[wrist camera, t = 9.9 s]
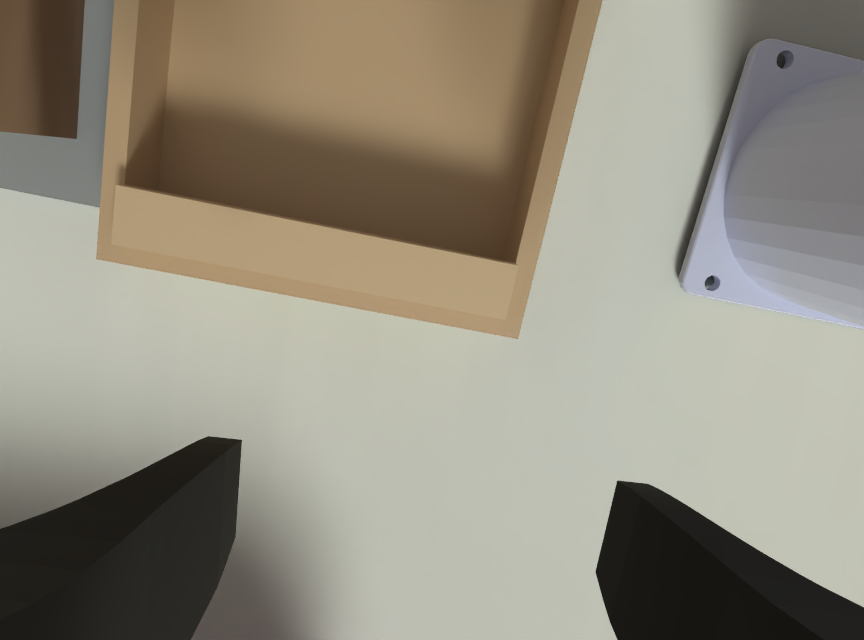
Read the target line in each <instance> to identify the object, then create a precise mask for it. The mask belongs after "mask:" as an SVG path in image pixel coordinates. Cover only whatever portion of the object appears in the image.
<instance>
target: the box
mask: <svg viewBox="0 0 864 640" xmlns="http://www.w3.org/2000/svg"><path fill="white" fill-rule="evenodd" d="M84 6H85V0H0V132H10V133H20V134H31V135H41V136H51V137H61V138H71V139H77V128H78V110H79V93H80V76H81V58H82V41H83V24H84Z"/></svg>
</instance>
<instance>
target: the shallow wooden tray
mask: <svg viewBox="0 0 864 640" xmlns="http://www.w3.org/2000/svg"><path fill="white" fill-rule="evenodd" d="M601 4H602V0H114V12H113V26H112V41H111V55H110V70H109V84H108V99H107V113H106V127H105V142H104V156H103V171H102V185H101V200H100V214H99V229H98V243H97V257H96V259H99V260H104V261H109V262H115V263H120V264H125V265H131V266H136V267H141V268H146V269H152V270H157V271H162V272H168V273H173V274H178V275H183V276H189V277H194V278H199V279H204V280H210V281H215V282H220V283H226V284H231V285H236V286H241V287H247V288H252V289H257V290H263V291H268V292H273V293H278V294H284V295H289V296H294V297H299V298H305V299H310V300H315V301H321V302H326V303H331V304H336V305H342V306H347V307H352V308H358V309H363V310H368V311H373V312H379V313H384V314H389V315H394V316H400V317H405V318H410V319H416V320H421V321H426V322H431V323H437V324H442V325H447V326H453V327H458V328H463V329H468V330H474V331H479V332H484V333H489V334H495V335H500V336H505V337H511V338H516V339H518V336H519V332H520V328H521V324H522V320H523V316H524V312H525V308H526V304H527V300H528V296H529V292H530V288H531V284H532V280H533V276H534V272H535V268H536V264H537V260H538V256H539V252H540V248H541V244H542V240H543V236H544V232H545V228H546V224H547V220H548V216H549V212H550V208H551V204H552V200H553V196H554V192H555V188H556V184H557V180H558V176H559V172H560V168H561V164H562V160H563V156H564V152H565V148H566V144H567V140H568V136H569V132H570V128H571V124H572V120H573V116H574V112H575V108H576V104H577V100H578V96H579V92H580V88H581V84H582V80H583V76H584V72H585V68H586V64H587V60H588V56H589V52H590V48H591V44H592V40H593V36H594V32H595V28H596V24H597V20H598V16H599V12H600V8H601Z"/></svg>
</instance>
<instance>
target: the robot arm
mask: <svg viewBox="0 0 864 640" xmlns="http://www.w3.org/2000/svg"><path fill="white" fill-rule="evenodd" d="M779 53H781V54H783V55H784V57H785V59H786V60H785V65H784V67H783V68H782V69H781V68H780V67H778V65H777V63H776V62H777V56H778V55H779ZM712 275H713V277H714V283H713V285H712V286H711V287H710V288H708V289H706V287H705V281H706V279H707V278H708V277H709V276H712ZM679 284H680V287H681V288H682V289H683V290H684V291H686V292H688V293H690V294H693V295H697V296H702V297H707V298H712V299H717V300H722V301H727V302H732V303H737V304H742V305H747V306H752V307H757V308H762V309H767V310H772V311H777V312H782V313H787V314H792V315H796V316H801V317H806V318H811V319H816V320H821V321H826V322H831V323H836V324H841V325H846V326H851V327H856V328H861V329H864V60H860V59H856V58H852V57H848V56H843V55H839V54H835V53H831V52H827V51H823V50H819V49H815V48H811V47H807V46H803V45H799V44H795V43H791V42H786V41H782V40H778V39H773V38H768V39H765V40H762V41H760V42H758V43H756V44H755V45H754V46H753V47H752V48H751V49H750V51H749V53H748V55H747V58H746V62H745V65H744V68H743V71H742V75H741V78H740V81H739V84H738V88H737V91H736V94H735V97H734V100H733V104H732V107H731V110H730V113H729V117H728V120H727V123H726V126H725V130H724V133H723V136H722V139H721V142H720V146H719V149H718V152H717V155H716V159H715V162H714V165H713V168H712V172H711V175H710V178H709V181H708V184H707V188H706V191H705V194H704V197H703V201H702V204H701V207H700V210H699V213H698V217H697V220H696V223H695V226H694V230H693V233H692V236H691V239H690V243H689V246H688V249H687V252H686V255H685V259H684V262H683V265H682V268H681V272H680V275H679ZM241 443H242V440H237V439H228V438H219V437H210V436H208V437H206V438H203V439H201V440H199V441H196V442H194V443H192V444H190V445H188V446H186V447H184V448H183V449H181V450H179V451H177V452H175V453H173V454H171V455H169V456H167V457H165V458H163V459H162V460H160V461H158V462H156V463H154V464H152V465H150V466H148V467H146V468H144V469H142V470H140V471H138V472H136V473H134V474H132V475H130V476H128V477H126V478H124V479H122V480H120V481H118V482H115V483H113V484H111V485H109V486H107V487H105V488H102V489H100V490H98V491H96V492H94V493H92V494H89V495H87V496H85V497H83V498H81V499H79V500H76V501H74V502H71V503H69V504H67V505H64V506H62V507H59V508H57V509H54V510H52V511H49V512H47V513H44V514H41V515H38V516H36V517H33V518H30V519H27V520H25V521H22V522H19V523H16V524H14V525H11V526H8V527H5V528H2V529H0V640H191V638H192V636H193V634H194V632H195V630H196V628H197V626H198V624H199V622H200V620H201V618H202V616H203V614H204V612H205V610H206V608H207V606H208V604H209V602H210V600H211V598H212V596H213V594H214V592H215V590H216V588H217V586H218V584H219V581H220V578H221V576H222V573H223V570H224V568H225V565H226V562H227V559H228V556H229V553H230V551H231V548H232V545H233V542H234V539H235V533H236V518H237V503H238V488H239V473H240V458H241ZM596 575H597V578H598V582H599V586H600V590H601V593H602V597H603V601H604V604H605V607H606V610H607V614H608V617H609V620H610V623H611V625H612V628H613V630H614V632H615V635H616V637H617V639H618V640H864V607H862V606H860V605H858V604H856V603H854V602H852V601H850V600H848V599H846V598H844V597H842V596H840V595H838V594H836V593H834V592H832V591H830V590H828V589H826V588H824V587H822V586H820V585H818V584H816V583H814V582H813V581H811V580H809V579H807V578H805V577H803V576H802V575H800V574H798V573H796V572H795V571H793V570H791V569H789V568H788V567H786V566H784V565H783V564H781V563H779V562H777V561H776V560H774V559H772V558H770V557H769V556H767V555H765V554H764V553H762V552H760V551H759V550H757V549H755V548H754V547H752V546H750V545H749V544H747V543H746V542H744V541H742V540H741V539H739V538H738V537H736V536H734V535H733V534H731V533H730V532H728V531H726V530H725V529H723V528H722V527H720V526H718V525H717V524H715V523H714V522H712V521H711V520H709V519H707V518H706V517H704V516H703V515H701V514H700V513H698V512H696V511H695V510H693V509H692V508H690V507H688V506H687V505H685V504H684V503H682V502H680V501H679V500H677V499H675V498H674V497H672V496H670V495H669V494H667V493H665V492H663V491H661V490H659V489H658V488H655V487H653V486H651V485H649V484H643V483H634V482H625V481H617V485H616V489H615V493H614V497H613V501H612V505H611V510H610V514H609V518H608V522H607V526H606V531H605V535H604V539H603V543H602V547H601V551H600V556H599V560H598V564H597V568H596Z"/></svg>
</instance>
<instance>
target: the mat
mask: <svg viewBox="0 0 864 640" xmlns="http://www.w3.org/2000/svg"><path fill="white" fill-rule="evenodd" d="M113 12H114V0H85V6H84V24H83V41H82V58H81V76H80V93H79V110H78V128H77V139H71V138H61V137H51V136H41V135H31V134H20V133H10V132H0V188H4V189H9V190H14V191H19V192H24V193H29V194H34V195H39V196H45V197H50V198H55V199H60V200H65V201H70V202H75V203H80V204H85V205H90V206H95V207H100V200H101V185H102V171H103V156H104V142H105V127H106V113H107V99H108V84H109V70H110V55H111V41H112V26H113Z"/></svg>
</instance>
